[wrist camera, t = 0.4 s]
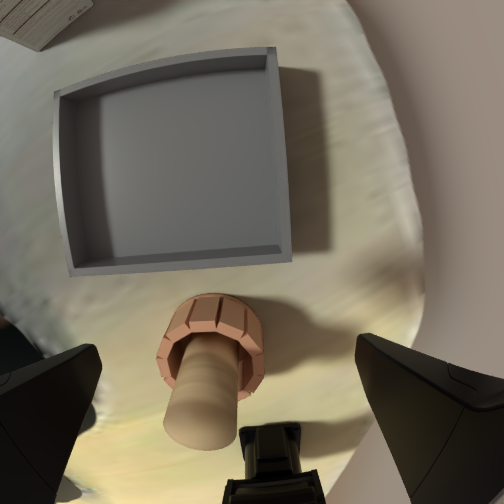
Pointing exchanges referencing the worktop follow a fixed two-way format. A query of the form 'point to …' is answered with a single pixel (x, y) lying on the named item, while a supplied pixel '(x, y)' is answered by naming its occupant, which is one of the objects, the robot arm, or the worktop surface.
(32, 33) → the supplement box
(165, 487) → the worktop surface
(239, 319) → the pink short hollow cylinder
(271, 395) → the worktop surface
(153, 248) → the tray
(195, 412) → the dowel
